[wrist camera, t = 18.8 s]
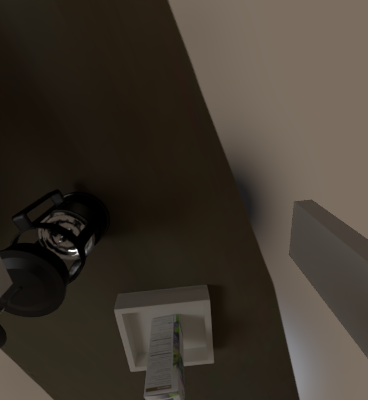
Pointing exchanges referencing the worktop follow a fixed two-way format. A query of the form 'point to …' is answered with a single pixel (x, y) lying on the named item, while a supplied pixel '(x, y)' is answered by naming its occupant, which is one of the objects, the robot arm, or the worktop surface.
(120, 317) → the bin
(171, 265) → the worktop surface
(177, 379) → the syrup box
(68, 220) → the french press
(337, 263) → the robot arm
